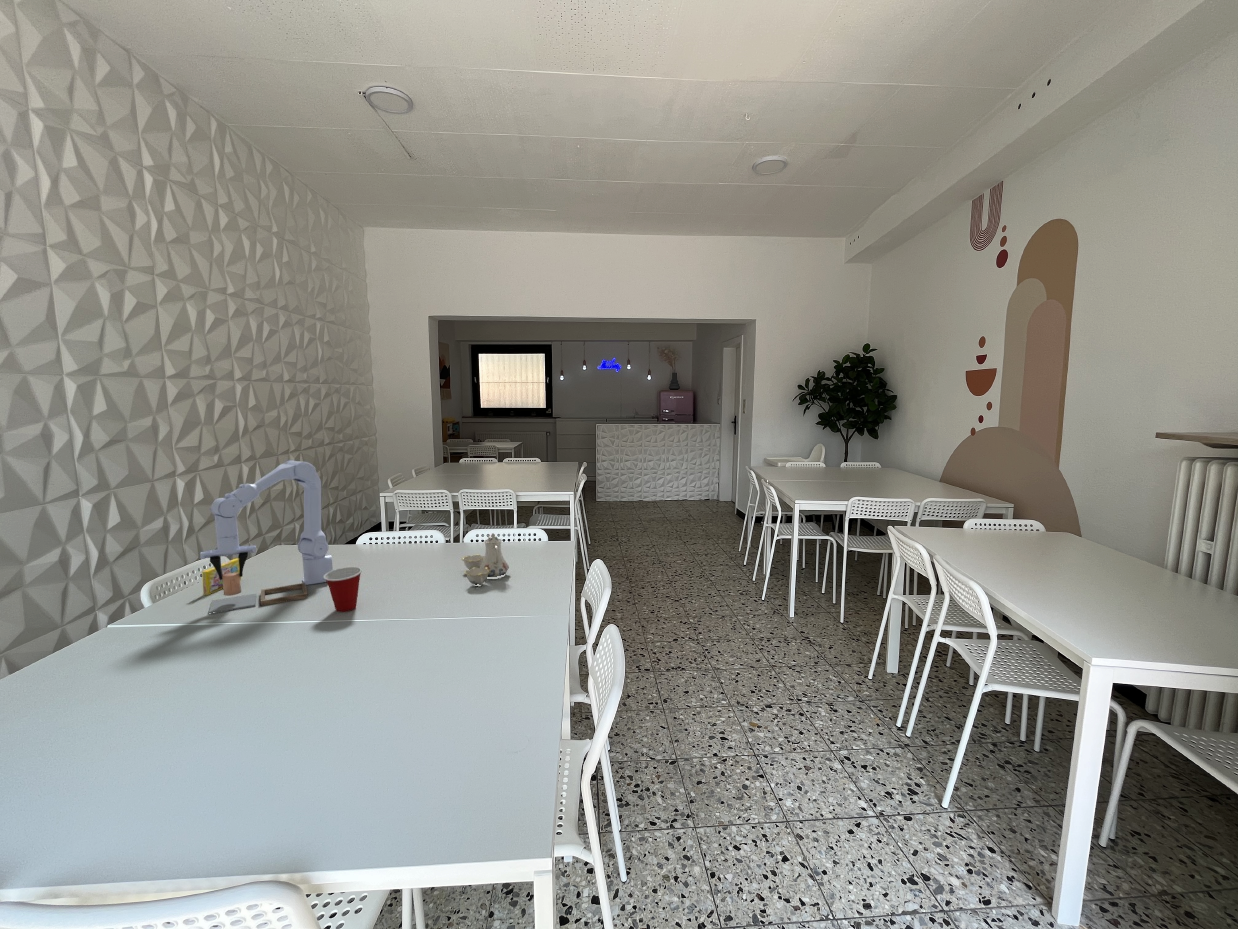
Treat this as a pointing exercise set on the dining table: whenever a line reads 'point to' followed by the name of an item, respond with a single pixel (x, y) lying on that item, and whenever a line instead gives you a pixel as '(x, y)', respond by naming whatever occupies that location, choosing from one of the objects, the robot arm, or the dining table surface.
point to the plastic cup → (344, 587)
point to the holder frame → (285, 598)
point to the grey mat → (233, 603)
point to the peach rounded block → (231, 584)
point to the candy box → (212, 578)
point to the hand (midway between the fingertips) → (231, 577)
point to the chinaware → (486, 562)
